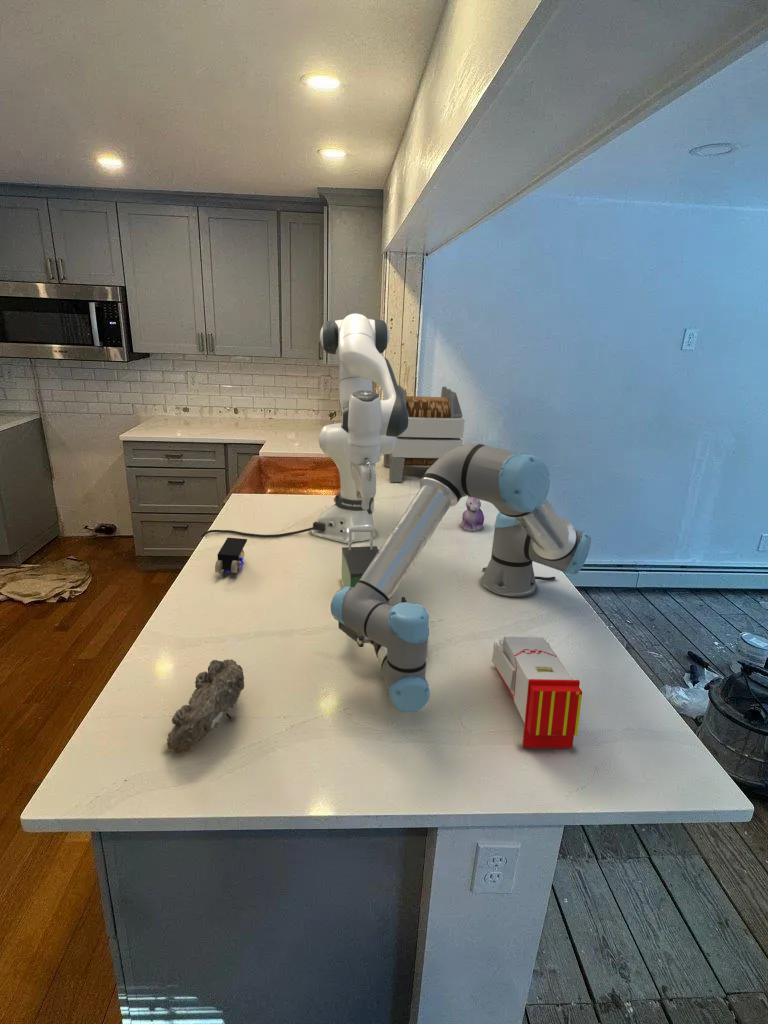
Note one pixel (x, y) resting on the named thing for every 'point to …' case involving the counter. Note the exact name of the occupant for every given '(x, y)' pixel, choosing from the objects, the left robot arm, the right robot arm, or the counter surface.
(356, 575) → the lid
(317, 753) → the counter surface
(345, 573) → the chest
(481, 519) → the figurine
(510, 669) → the toy
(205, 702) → the fossil
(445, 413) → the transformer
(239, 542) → the black toy car
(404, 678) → the right robot arm
